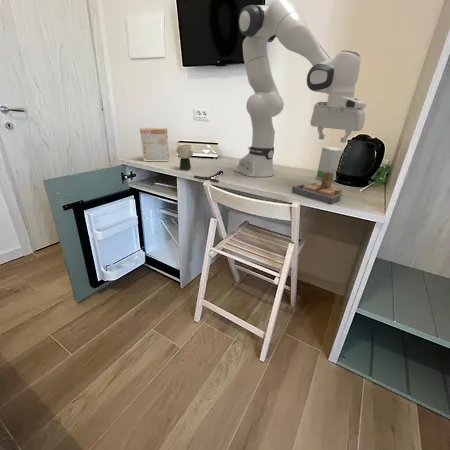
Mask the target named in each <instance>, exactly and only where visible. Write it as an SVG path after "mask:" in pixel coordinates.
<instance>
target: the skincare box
mask: <svg viewBox="0 0 450 450" xmlns="http://www.w3.org/2000/svg"><path fill="white" fill-rule="evenodd" d="M342 153H343V154H344V149H341V148H339V147H335V146H322V149H321V153H320V158H319V162H318V168H317V171H316V178H317V179H319V180H321V181H322V177H323V173H324V172H331V173H334V174H333V179H332V182H336V181H337V180H336V171H337V168H338V164H339V160H340V157H341V155H342ZM342 156H343V155H342ZM335 180H336V181H335Z"/></svg>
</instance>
